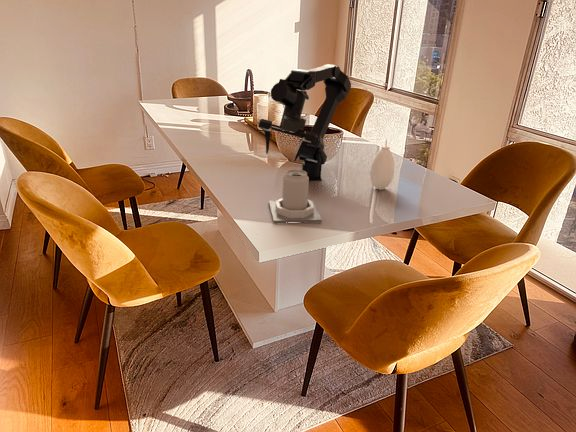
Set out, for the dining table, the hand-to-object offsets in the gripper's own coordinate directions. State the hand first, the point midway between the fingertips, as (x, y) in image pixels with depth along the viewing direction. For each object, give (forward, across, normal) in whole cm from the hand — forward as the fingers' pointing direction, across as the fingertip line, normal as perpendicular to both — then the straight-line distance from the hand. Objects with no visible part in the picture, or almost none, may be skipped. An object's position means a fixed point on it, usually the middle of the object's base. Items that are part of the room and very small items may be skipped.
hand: (280, 157), depth 143 cm
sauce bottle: (+2, +37, +10) cm, 38 cm away
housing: (+15, +8, -10) cm, 20 cm away
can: (+14, +8, -10) cm, 19 cm away
